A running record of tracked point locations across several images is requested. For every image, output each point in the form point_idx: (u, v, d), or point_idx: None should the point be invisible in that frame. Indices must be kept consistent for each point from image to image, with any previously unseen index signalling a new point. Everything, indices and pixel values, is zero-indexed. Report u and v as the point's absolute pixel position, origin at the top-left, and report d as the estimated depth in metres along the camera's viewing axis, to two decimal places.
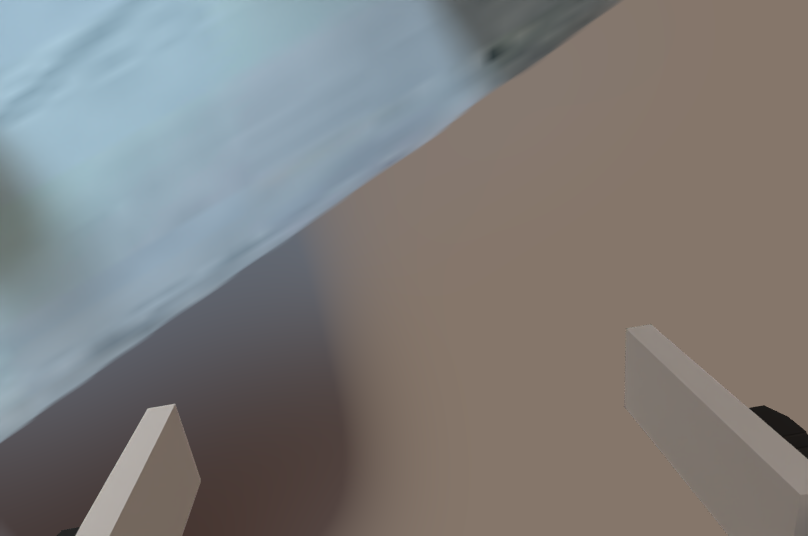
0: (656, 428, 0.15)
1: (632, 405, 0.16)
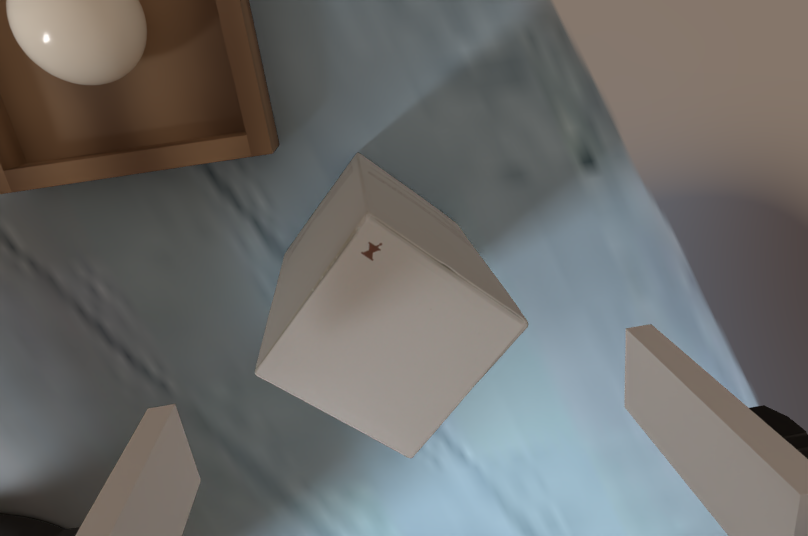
0: (656, 428, 0.15)
1: (632, 405, 0.16)
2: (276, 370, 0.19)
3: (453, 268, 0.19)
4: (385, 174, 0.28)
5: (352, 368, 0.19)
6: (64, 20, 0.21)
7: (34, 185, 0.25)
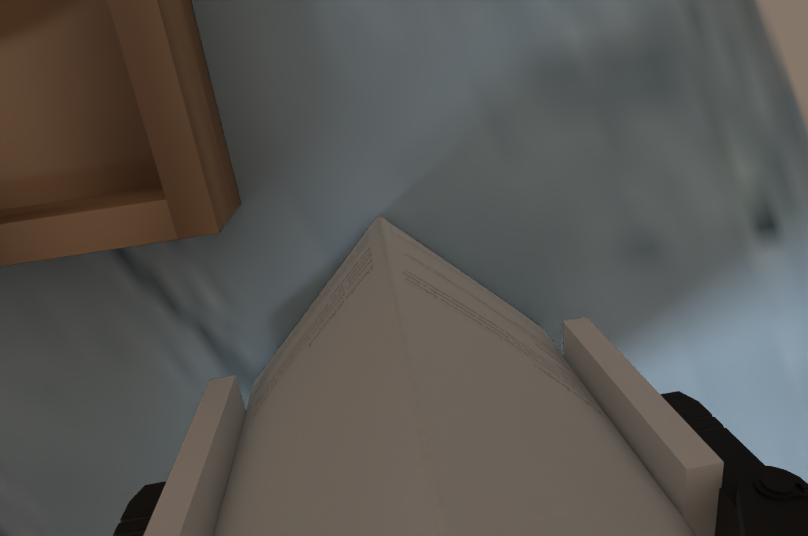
0: None
1: None
2: None
3: None
4: (430, 260, 0.16)
5: None
6: None
7: None
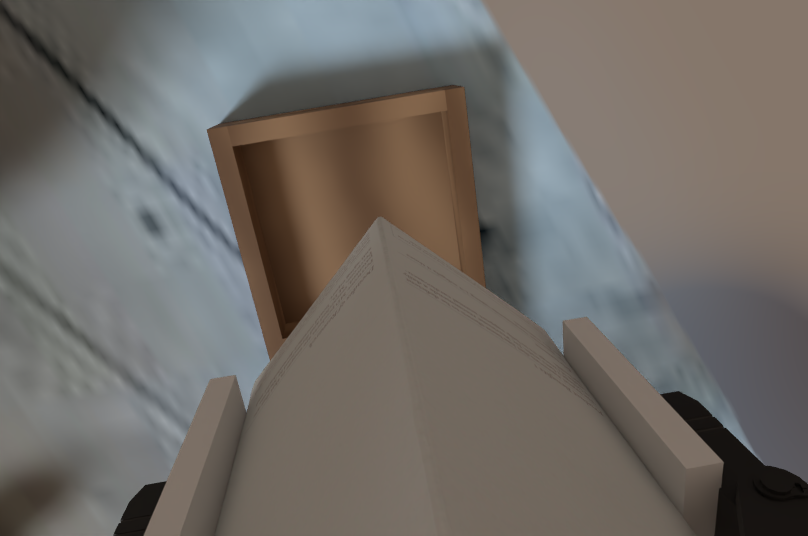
0: None
1: None
2: None
3: None
4: (430, 260, 0.16)
5: None
6: None
7: None
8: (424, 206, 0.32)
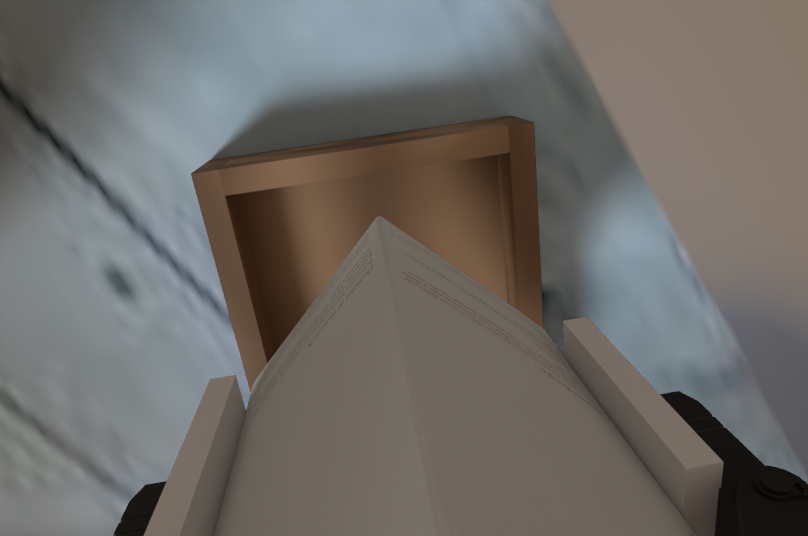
0: None
1: None
2: None
3: None
4: (430, 259, 0.16)
5: None
6: None
7: None
8: (469, 268, 0.25)
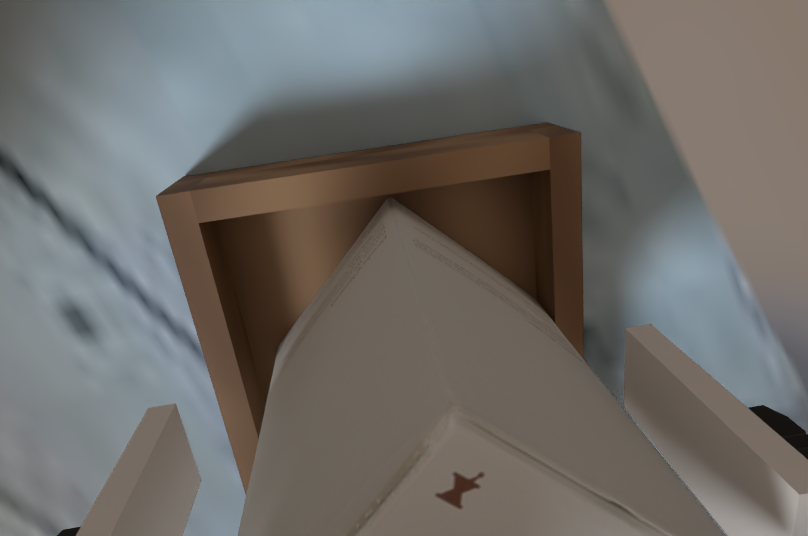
0: (655, 428, 0.15)
1: (632, 405, 0.16)
2: None
3: (629, 504, 0.09)
4: (434, 233, 0.18)
5: None
6: None
7: None
8: None
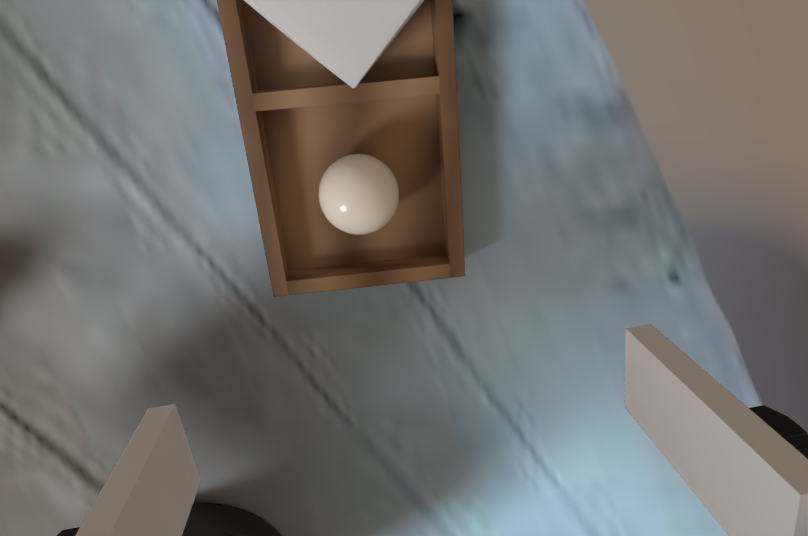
0: (656, 428, 0.15)
1: (632, 405, 0.16)
2: None
3: None
4: None
5: None
6: (366, 207, 0.32)
7: (304, 291, 0.37)
8: None
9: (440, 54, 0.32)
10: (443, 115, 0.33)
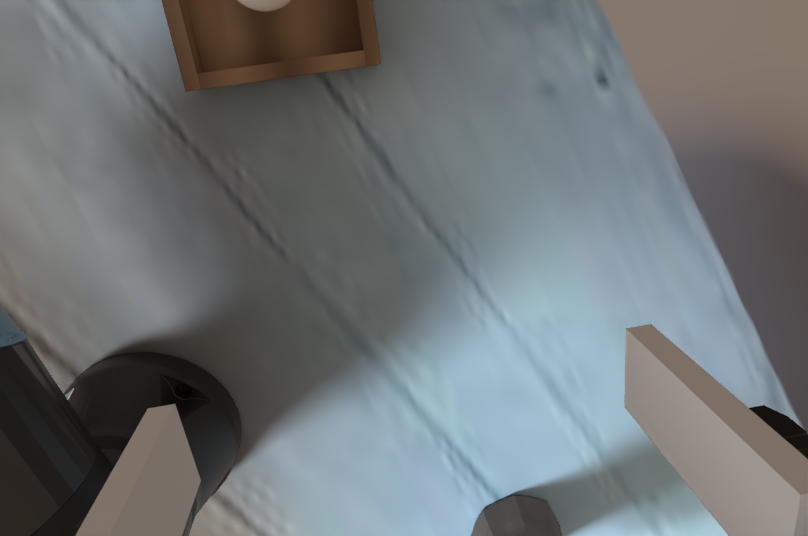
0: (656, 428, 0.15)
1: (632, 405, 0.16)
2: None
3: None
4: None
5: None
6: None
7: (216, 84, 0.36)
8: None
9: None
10: None
